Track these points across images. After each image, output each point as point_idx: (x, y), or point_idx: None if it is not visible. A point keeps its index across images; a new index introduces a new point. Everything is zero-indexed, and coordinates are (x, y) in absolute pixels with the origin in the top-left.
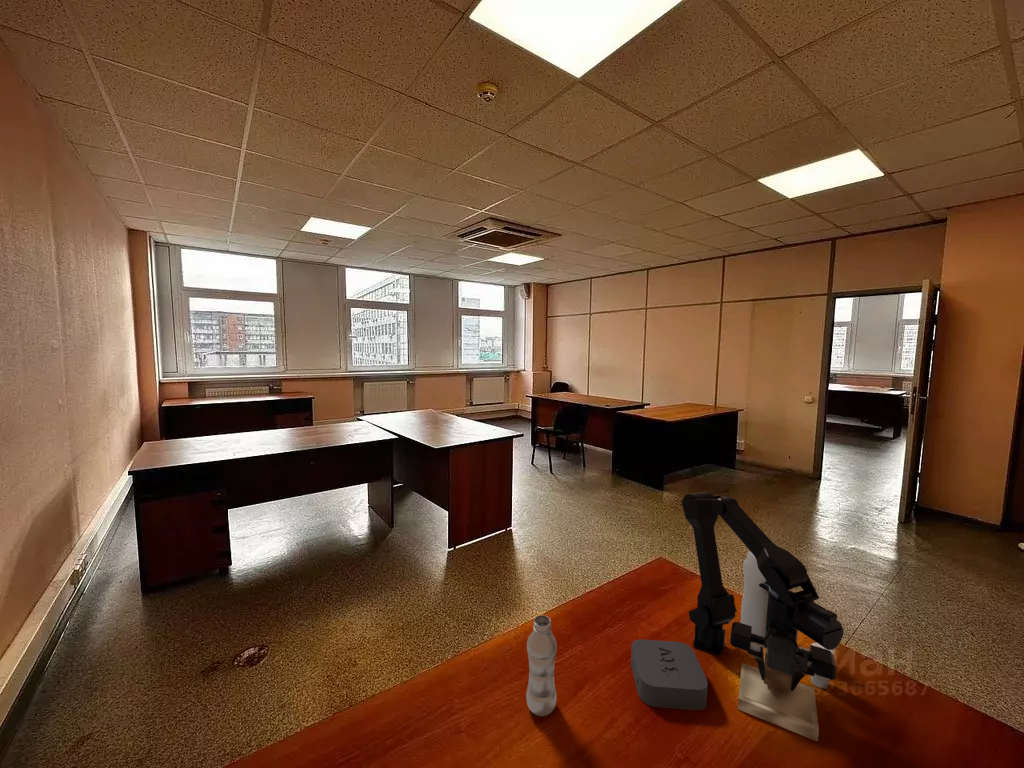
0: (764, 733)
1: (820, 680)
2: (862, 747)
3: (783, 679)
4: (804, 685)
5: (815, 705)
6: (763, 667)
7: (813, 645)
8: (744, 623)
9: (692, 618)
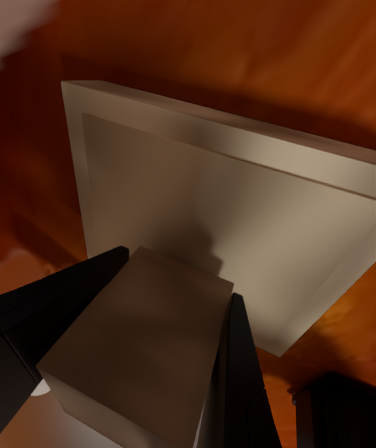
0: (326, 15)
1: None
2: (8, 113)
3: (139, 294)
4: None
5: (82, 212)
6: (227, 383)
7: (34, 392)
8: None
9: None
